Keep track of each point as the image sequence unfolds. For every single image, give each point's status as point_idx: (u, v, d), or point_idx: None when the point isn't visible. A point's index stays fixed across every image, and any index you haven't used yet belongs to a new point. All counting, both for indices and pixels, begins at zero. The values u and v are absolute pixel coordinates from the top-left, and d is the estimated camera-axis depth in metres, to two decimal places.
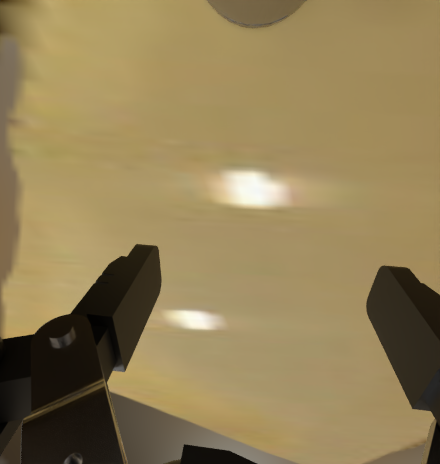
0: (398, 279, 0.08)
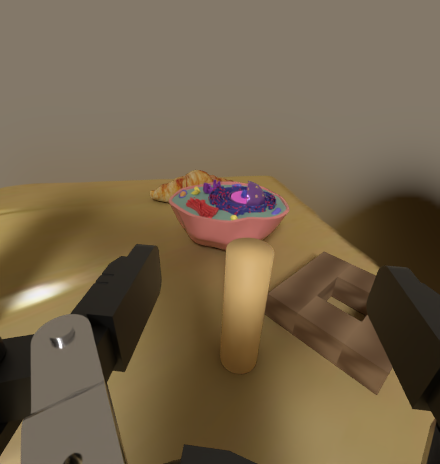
0: (398, 279, 0.08)
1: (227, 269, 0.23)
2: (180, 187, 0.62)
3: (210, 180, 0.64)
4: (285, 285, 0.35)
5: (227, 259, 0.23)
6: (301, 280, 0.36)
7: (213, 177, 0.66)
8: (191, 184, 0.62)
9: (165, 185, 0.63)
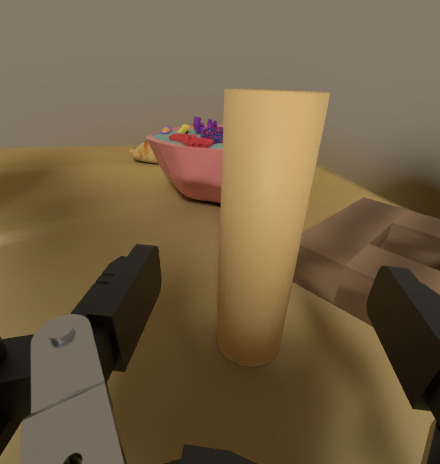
0: (398, 279, 0.08)
1: (227, 133, 0.11)
2: None
3: None
4: (317, 232, 0.23)
5: (227, 107, 0.10)
6: (340, 226, 0.24)
7: None
8: None
9: None
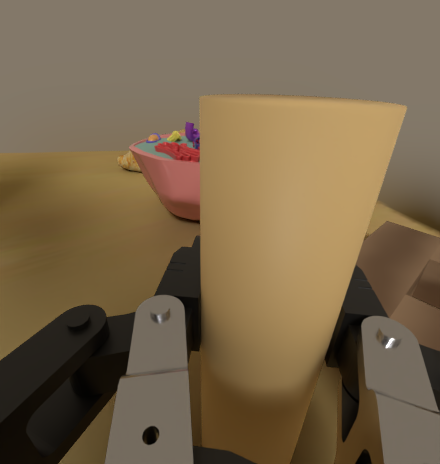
0: None
1: (205, 179, 0.06)
2: None
3: None
4: None
5: (203, 131, 0.05)
6: (364, 265, 0.19)
7: None
8: None
9: None
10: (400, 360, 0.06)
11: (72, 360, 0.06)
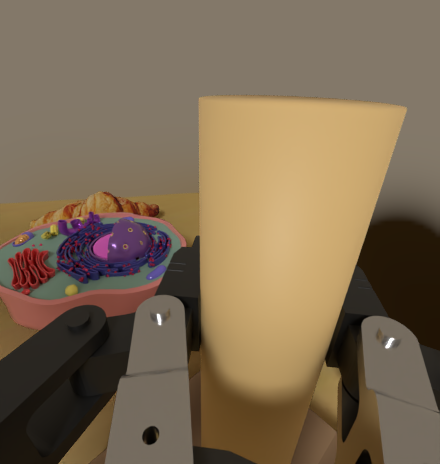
0: None
1: (205, 181, 0.06)
2: (68, 217, 0.44)
3: (114, 207, 0.45)
4: None
5: (203, 132, 0.05)
6: None
7: (123, 202, 0.48)
8: (84, 213, 0.44)
9: (51, 213, 0.46)
10: (400, 360, 0.06)
11: (72, 360, 0.06)
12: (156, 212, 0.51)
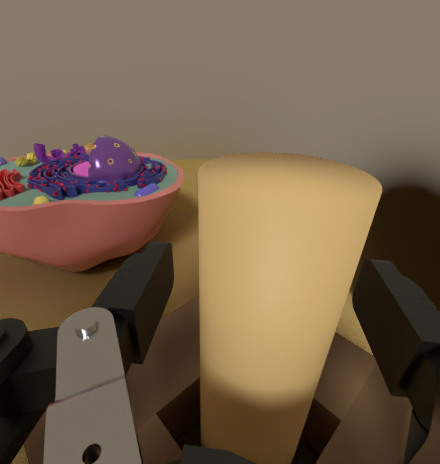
0: (380, 272, 0.09)
1: (203, 244, 0.06)
2: None
3: None
4: None
5: (202, 205, 0.06)
6: None
7: None
8: None
9: None
10: None
11: None
12: None
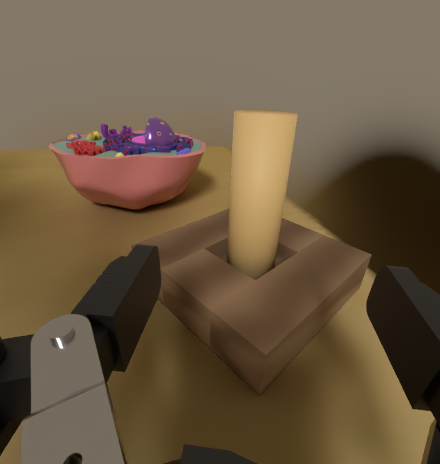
0: (398, 279, 0.08)
1: (236, 138, 0.18)
2: None
3: None
4: (165, 237, 0.24)
5: (236, 123, 0.17)
6: (193, 231, 0.25)
7: None
8: None
9: None
10: None
11: None
12: None
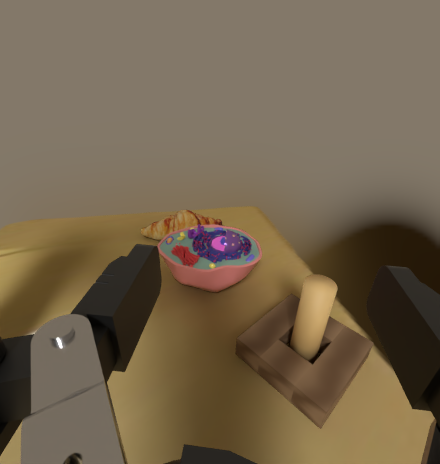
0: (398, 279, 0.08)
1: (305, 297, 0.35)
2: (167, 227, 0.68)
3: (195, 221, 0.69)
4: (253, 329, 0.41)
5: (306, 291, 0.34)
6: (267, 323, 0.43)
7: (200, 217, 0.71)
8: (177, 224, 0.68)
9: (155, 224, 0.70)
10: None
11: None
12: (220, 224, 0.74)
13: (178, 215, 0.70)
